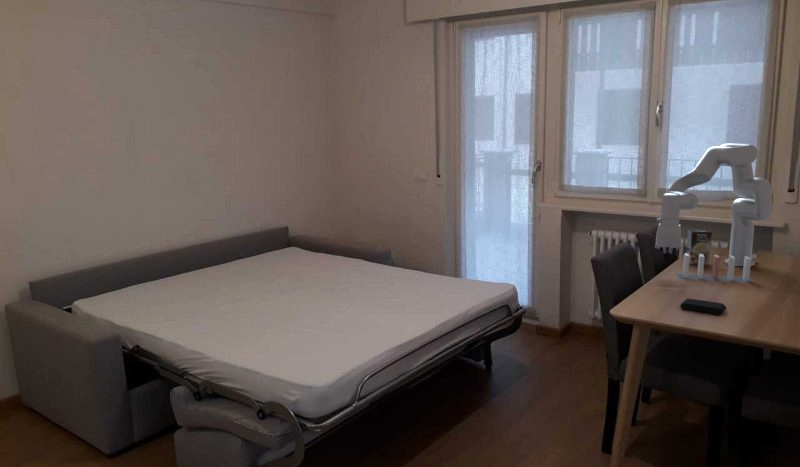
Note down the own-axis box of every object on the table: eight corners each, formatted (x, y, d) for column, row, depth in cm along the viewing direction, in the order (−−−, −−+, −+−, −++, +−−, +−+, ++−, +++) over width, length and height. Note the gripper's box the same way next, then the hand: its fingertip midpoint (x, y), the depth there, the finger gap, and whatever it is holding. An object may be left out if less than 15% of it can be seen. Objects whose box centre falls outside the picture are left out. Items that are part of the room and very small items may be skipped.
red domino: (713, 279, 270) (715, 257, 268) (711, 276, 275) (713, 254, 273) (717, 279, 269) (719, 257, 267) (715, 276, 274) (717, 254, 272)
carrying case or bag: (727, 310, 232) (685, 303, 241) (728, 302, 231) (686, 295, 240) (722, 317, 224) (678, 310, 232) (722, 309, 223) (679, 302, 232)
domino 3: (729, 280, 268) (731, 258, 266) (727, 277, 273) (729, 255, 271) (733, 280, 268) (735, 258, 266) (731, 277, 272) (733, 255, 270)
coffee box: (689, 264, 297) (692, 231, 294) (684, 261, 304) (687, 229, 301) (709, 264, 297) (712, 232, 293) (704, 261, 303) (706, 229, 300)
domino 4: (744, 281, 266) (746, 258, 264) (742, 278, 271) (744, 256, 269) (748, 281, 266) (751, 259, 264) (746, 278, 270) (748, 256, 268)
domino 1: (683, 277, 274) (685, 255, 272) (682, 274, 278) (684, 253, 276) (687, 278, 273) (689, 256, 271) (686, 275, 278) (688, 253, 276)
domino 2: (698, 278, 272) (700, 256, 270) (697, 275, 276) (698, 254, 274) (702, 278, 271) (704, 256, 269) (701, 276, 276) (702, 254, 274)
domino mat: (678, 279, 273) (678, 278, 273) (676, 274, 280) (676, 273, 280) (755, 283, 264) (755, 283, 264) (751, 279, 271) (751, 278, 271)
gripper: (652, 222, 272) (649, 262, 276) (689, 223, 267) (685, 264, 271) (650, 219, 279) (648, 258, 283) (687, 220, 274) (683, 260, 278)
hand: (666, 261), depth 277 cm, fingers closed
